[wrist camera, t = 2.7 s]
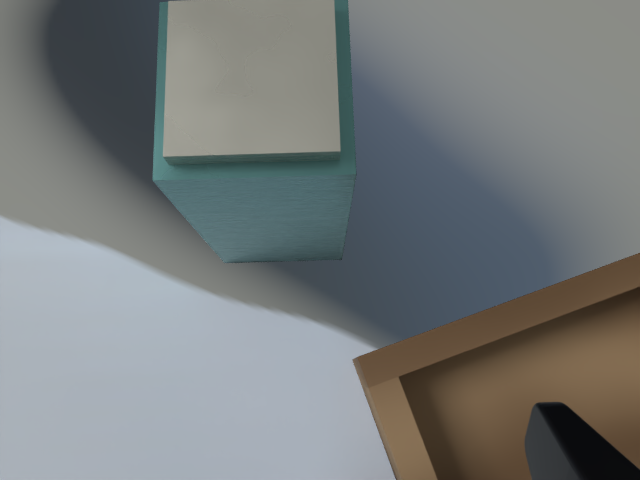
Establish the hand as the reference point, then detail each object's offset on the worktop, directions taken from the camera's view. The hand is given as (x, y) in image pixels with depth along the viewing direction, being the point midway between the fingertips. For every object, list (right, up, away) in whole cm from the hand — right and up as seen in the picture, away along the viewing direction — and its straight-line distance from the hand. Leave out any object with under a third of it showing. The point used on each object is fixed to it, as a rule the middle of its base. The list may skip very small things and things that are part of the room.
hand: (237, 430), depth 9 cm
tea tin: (0, +4, +14) cm, 14 cm away
